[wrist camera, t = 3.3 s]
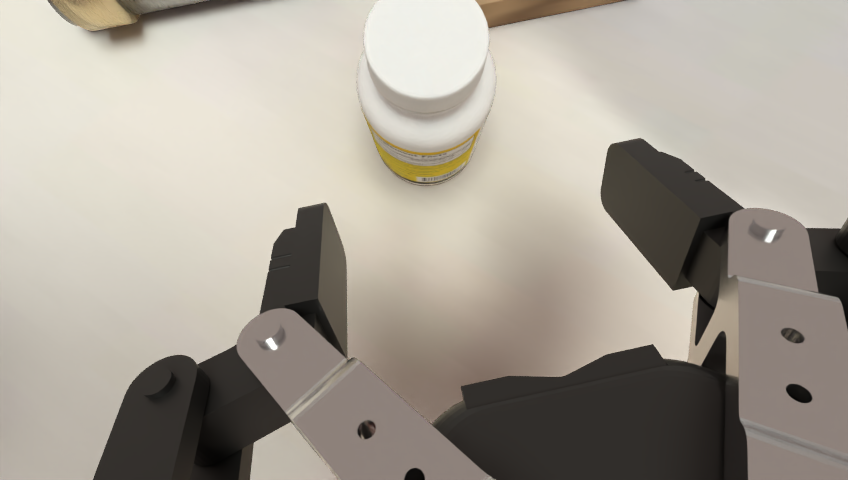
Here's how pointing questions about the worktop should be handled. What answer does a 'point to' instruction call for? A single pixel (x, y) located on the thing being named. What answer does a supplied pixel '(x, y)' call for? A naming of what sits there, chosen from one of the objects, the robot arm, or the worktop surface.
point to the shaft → (110, 11)
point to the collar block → (530, 9)
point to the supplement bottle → (426, 85)
